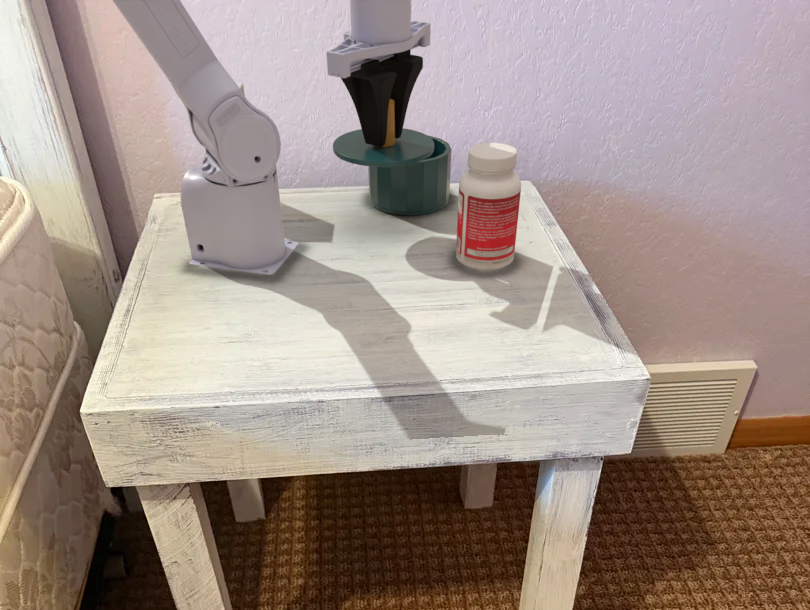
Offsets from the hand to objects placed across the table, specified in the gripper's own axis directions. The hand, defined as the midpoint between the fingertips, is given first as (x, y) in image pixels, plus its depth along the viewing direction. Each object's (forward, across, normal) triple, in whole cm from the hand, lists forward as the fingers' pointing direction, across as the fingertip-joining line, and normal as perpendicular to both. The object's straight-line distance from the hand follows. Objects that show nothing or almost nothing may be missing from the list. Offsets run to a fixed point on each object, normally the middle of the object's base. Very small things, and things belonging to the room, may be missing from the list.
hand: (383, 140), depth 79 cm
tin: (+10, -9, -3) cm, 14 cm away
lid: (+1, 0, 0) cm, 1 cm away
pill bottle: (+10, 0, +13) cm, 16 cm away
